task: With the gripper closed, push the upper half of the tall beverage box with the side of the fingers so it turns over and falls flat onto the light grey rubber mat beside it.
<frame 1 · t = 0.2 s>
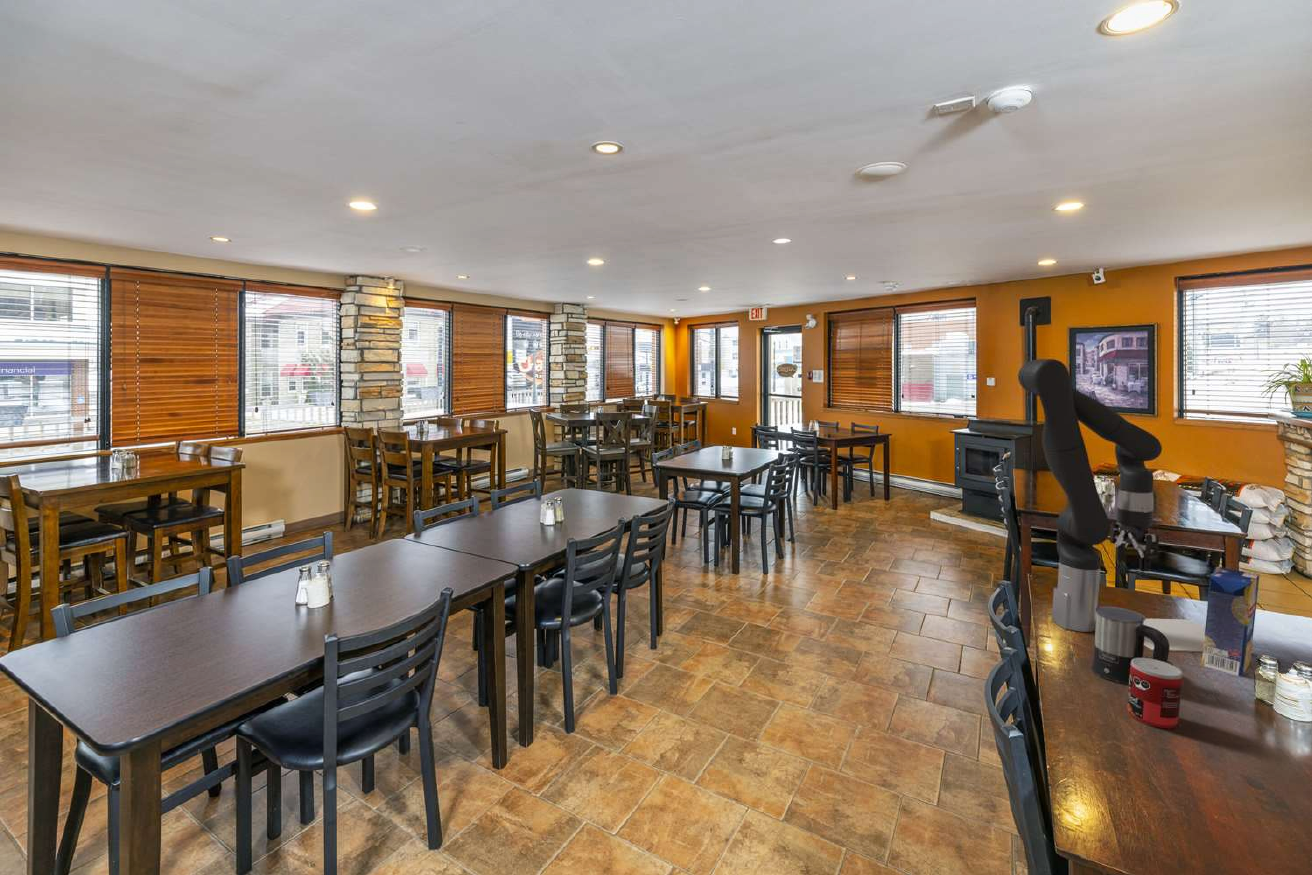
hand: (1132, 565, 162), 17 cm above the table, tool pointing down, fingers open, 8 cm apart
milk frother: (1130, 674, 139), on the table
canned food: (1151, 719, 120), on the table
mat: (1171, 634, 159), on the table
beverage box: (1225, 665, 143), on the table
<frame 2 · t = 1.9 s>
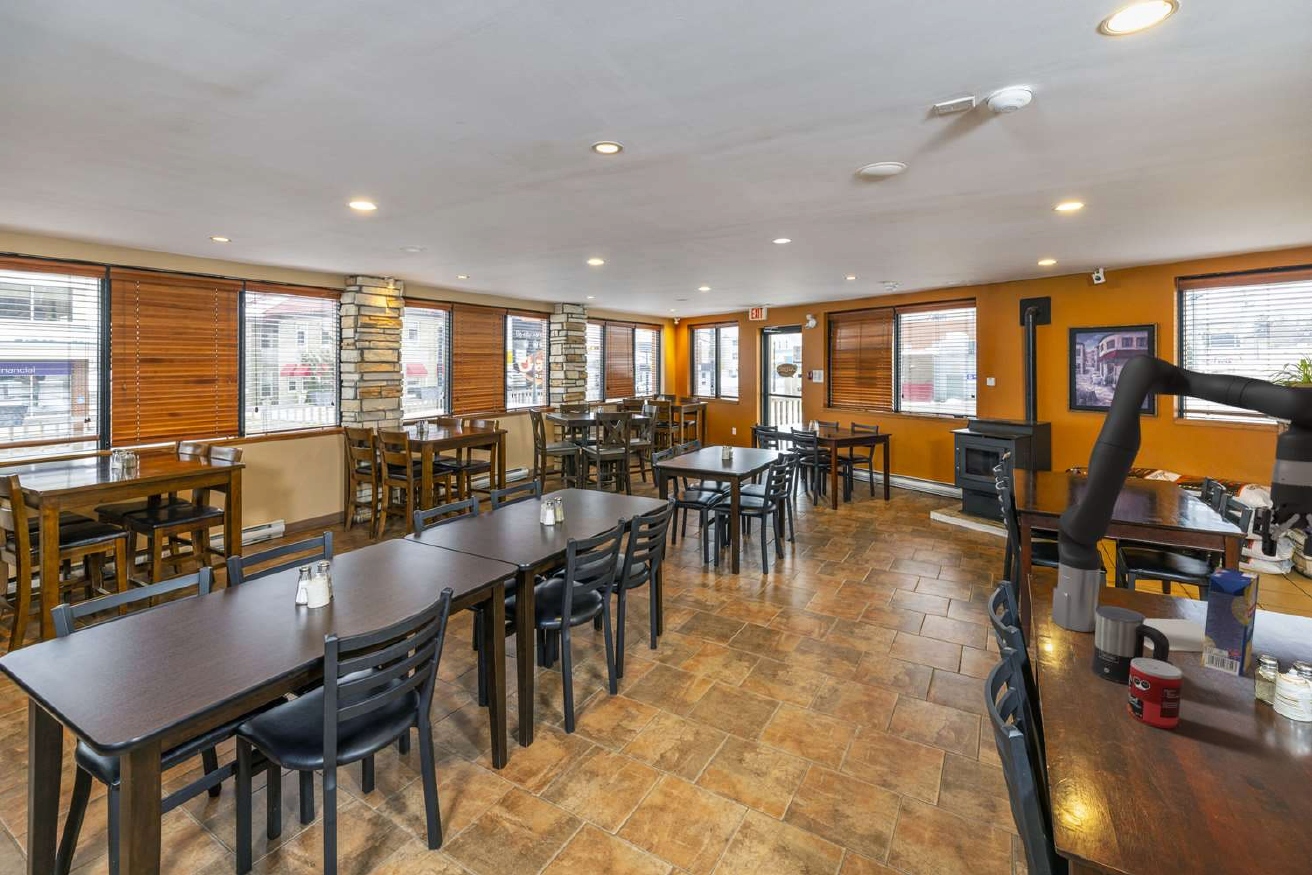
hand: (1289, 555, 128), 30 cm above the table, tool pointing down, fingers open, 8 cm apart
nothing on the table moved.
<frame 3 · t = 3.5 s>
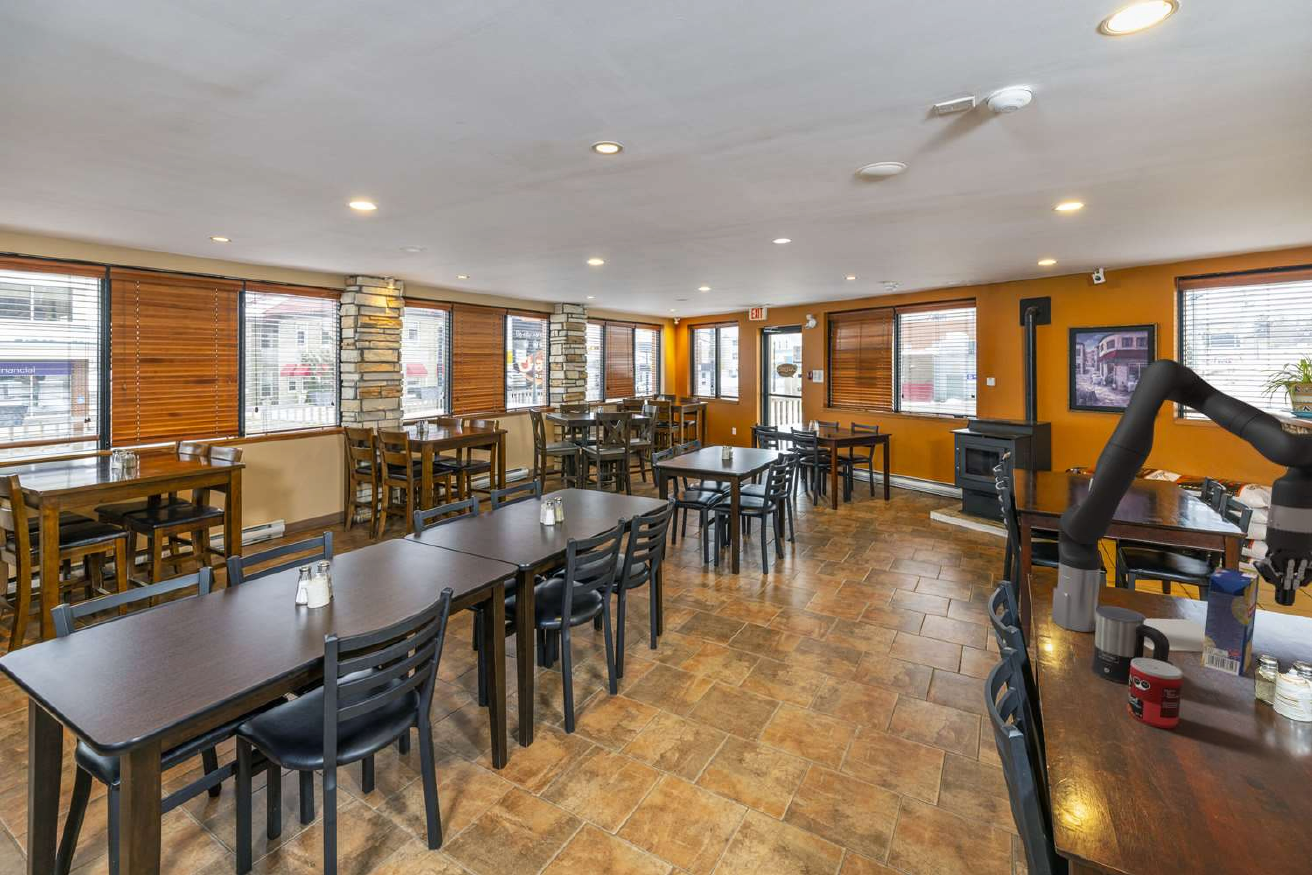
hand: (1284, 604, 129), 19 cm above the table, tool pointing down, fingers closed
nothing on the table moved.
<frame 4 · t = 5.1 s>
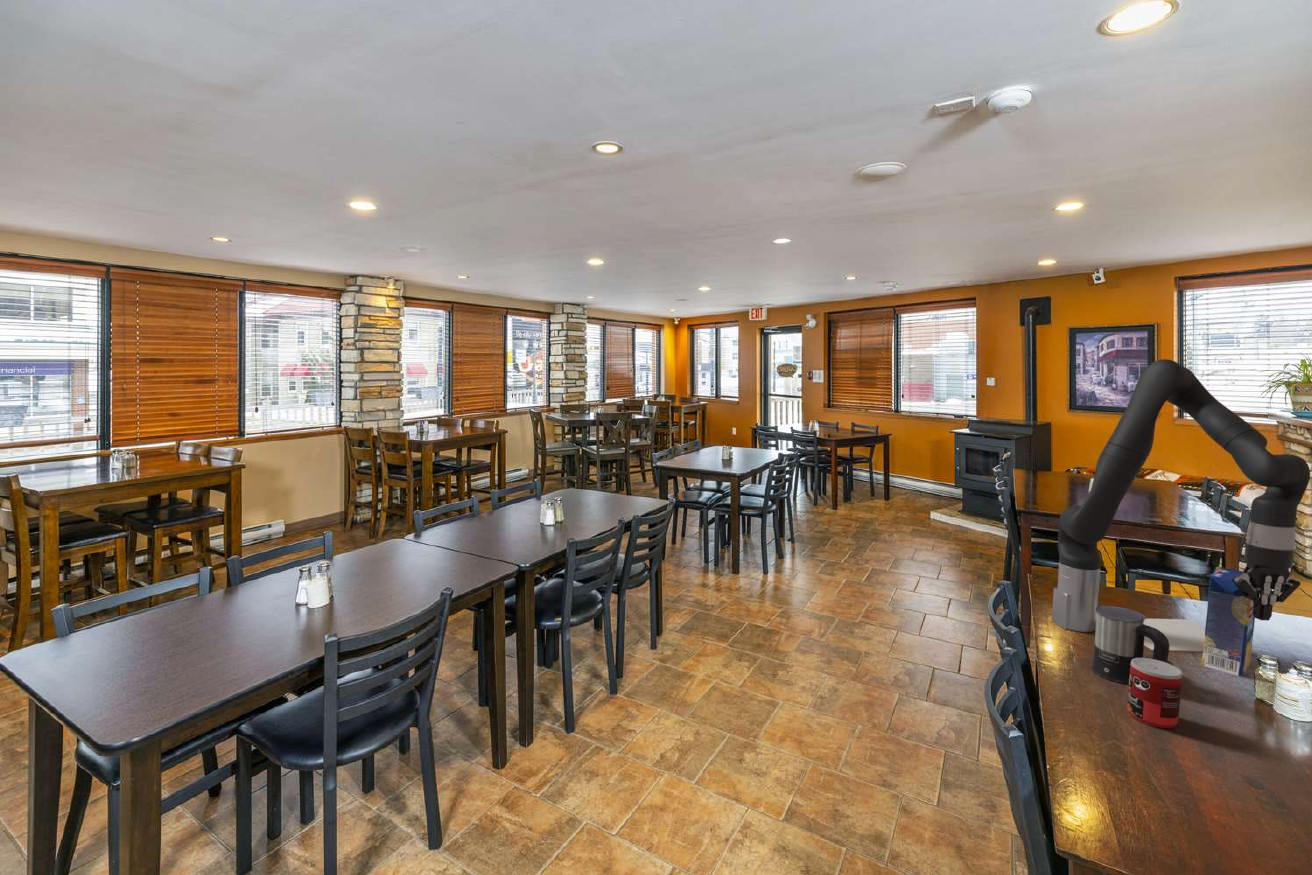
hand: (1261, 618, 134), 14 cm above the table, tool pointing down, fingers closed
nothing on the table moved.
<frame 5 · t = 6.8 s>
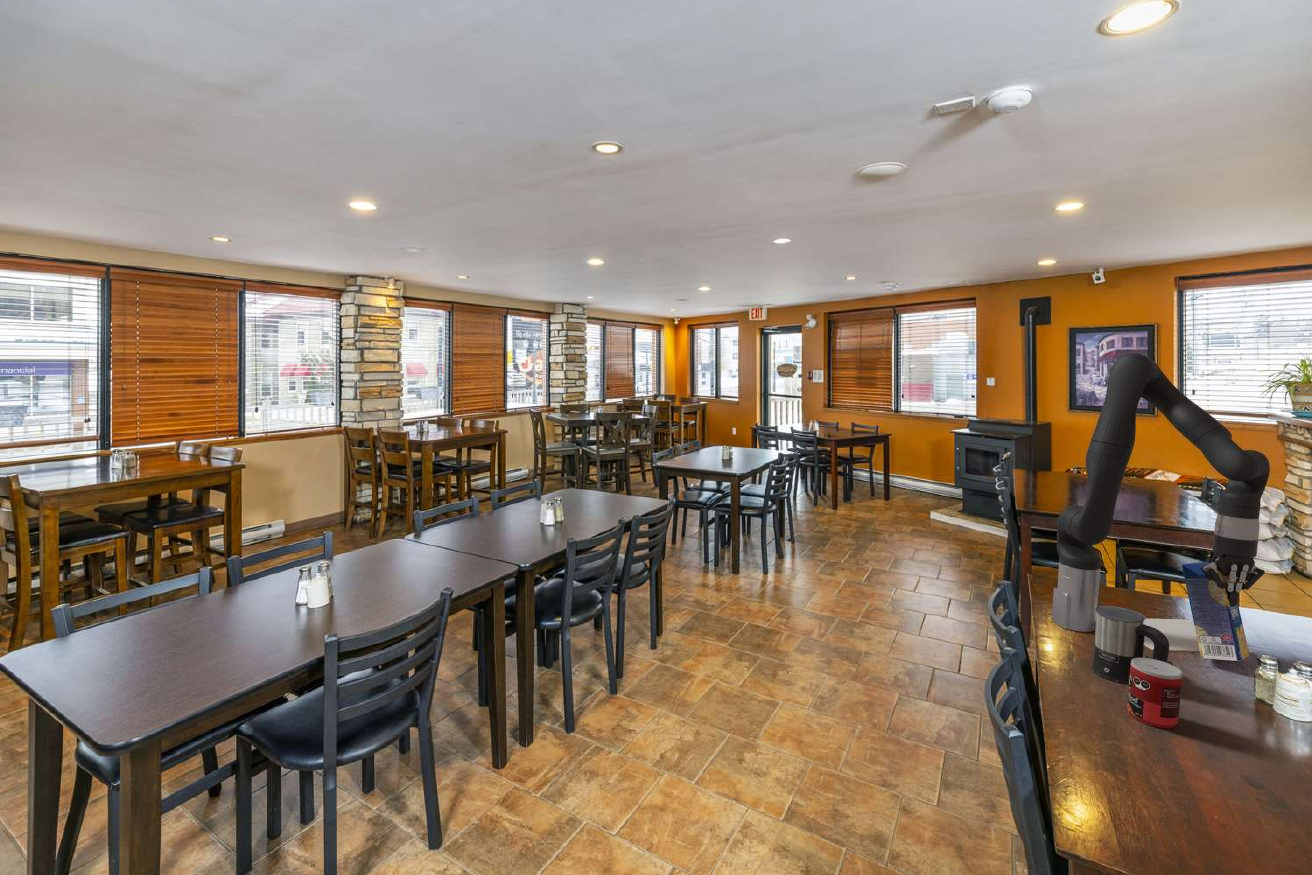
hand: (1228, 605, 142), 14 cm above the table, tool pointing down, fingers closed
beverage box: (1225, 657, 143), point 2 cm above the table, touching hand
everything else where it was.
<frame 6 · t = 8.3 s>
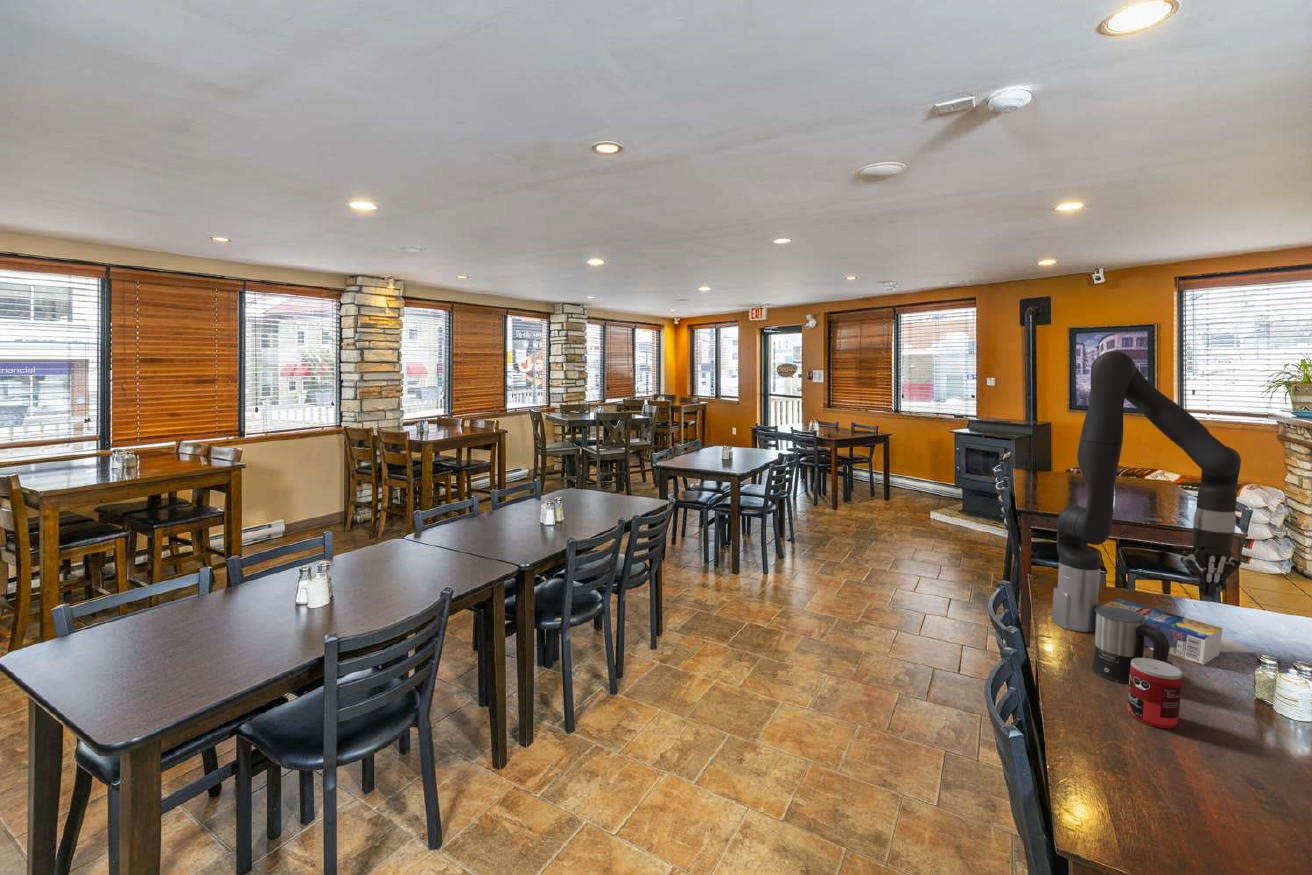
hand: (1207, 595, 148), 14 cm above the table, tool pointing down, fingers closed
beverage box: (1213, 646, 145), point 3 cm above the table, touching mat
everything else where it was.
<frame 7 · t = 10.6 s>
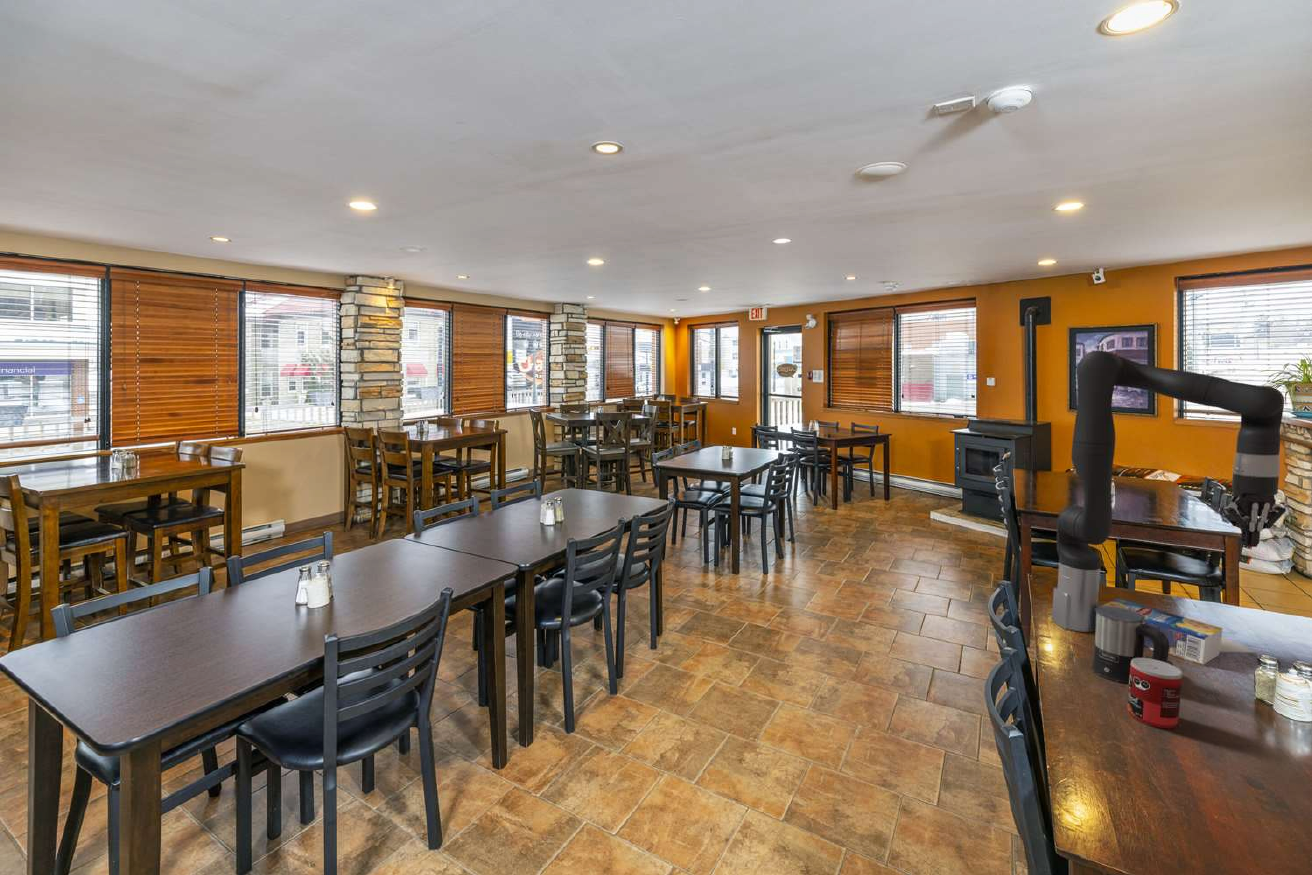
hand: (1249, 545, 139), 29 cm above the table, tool pointing down, fingers closed
nothing on the table moved.
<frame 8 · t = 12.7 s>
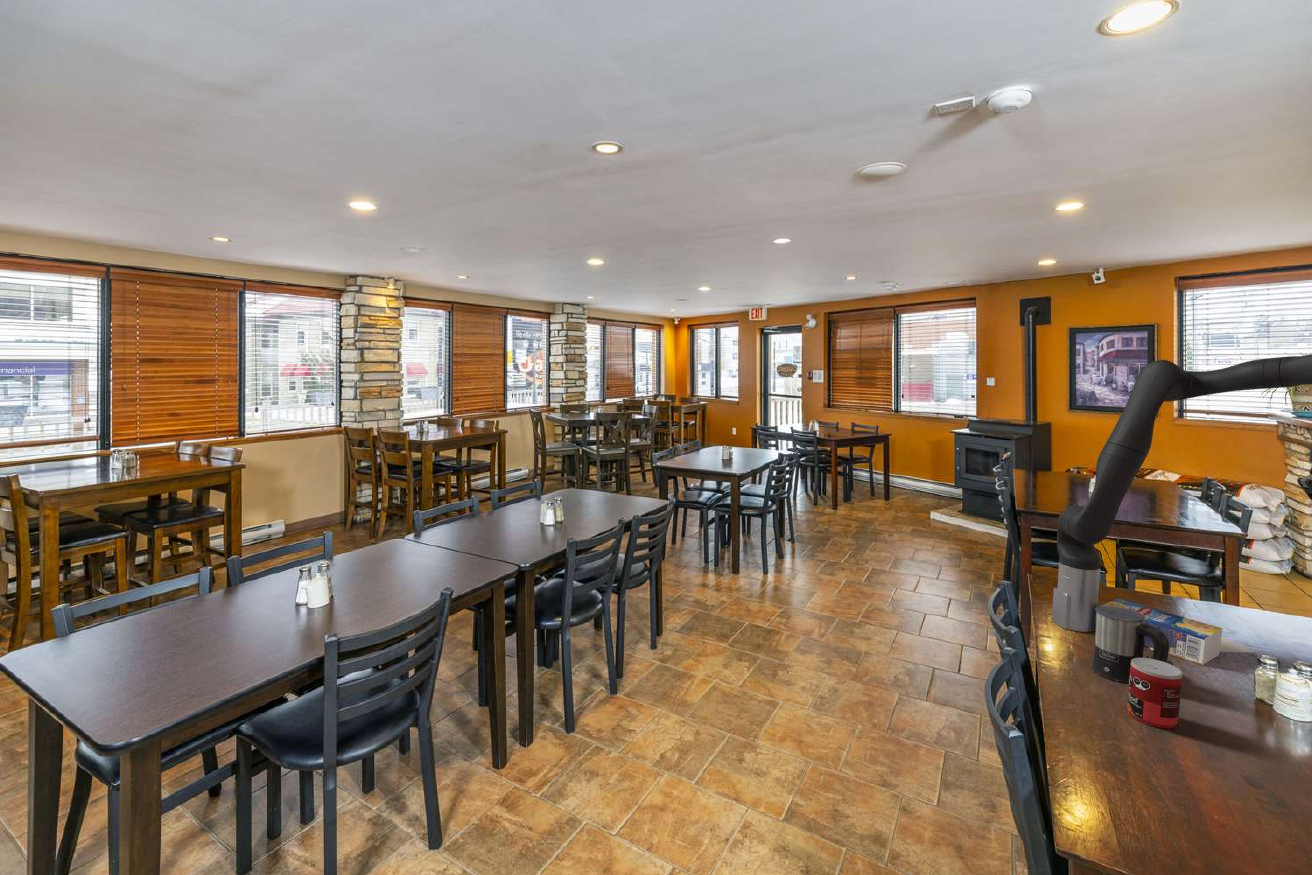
nothing on the table moved.
at the end: beverage box tilted 89°; beverage box inside the target area (10.4 cm from its centre), point 3.4 cm above the table; the gripper is holding nothing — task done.
